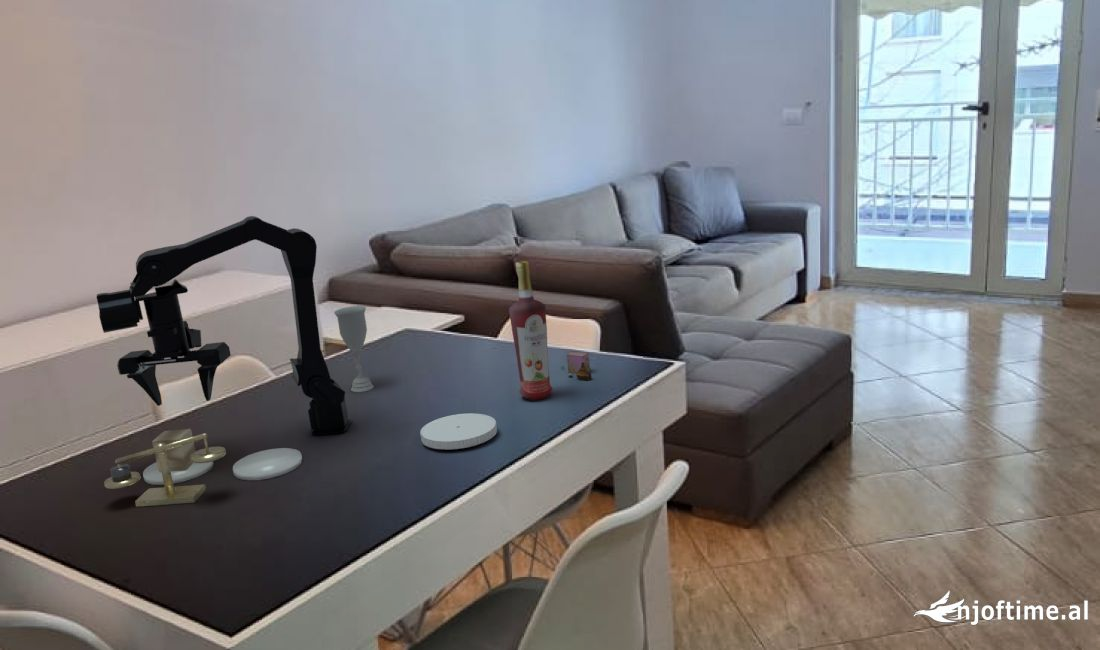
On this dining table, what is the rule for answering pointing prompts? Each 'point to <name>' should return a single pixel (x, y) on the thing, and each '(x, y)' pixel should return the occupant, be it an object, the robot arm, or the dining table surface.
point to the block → (176, 449)
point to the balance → (164, 474)
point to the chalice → (354, 340)
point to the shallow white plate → (267, 464)
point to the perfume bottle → (579, 365)
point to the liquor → (530, 338)
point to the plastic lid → (458, 431)
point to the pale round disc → (176, 473)
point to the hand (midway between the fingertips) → (184, 402)
